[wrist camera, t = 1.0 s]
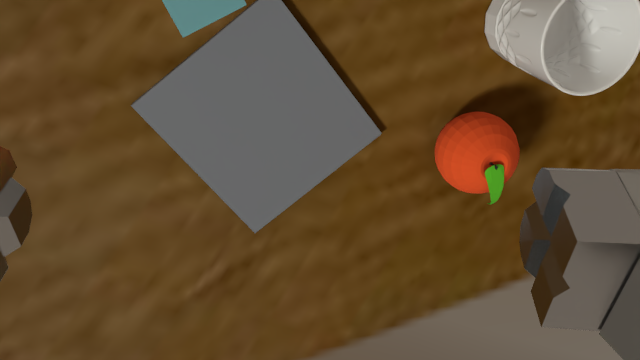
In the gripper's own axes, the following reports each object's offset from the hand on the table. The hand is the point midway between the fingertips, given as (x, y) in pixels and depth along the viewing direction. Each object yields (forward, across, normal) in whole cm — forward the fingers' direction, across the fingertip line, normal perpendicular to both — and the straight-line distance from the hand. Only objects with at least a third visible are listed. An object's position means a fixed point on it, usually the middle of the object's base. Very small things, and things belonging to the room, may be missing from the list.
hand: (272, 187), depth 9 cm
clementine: (+36, -12, +26) cm, 46 cm away
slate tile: (+33, +5, +22) cm, 40 cm away
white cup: (+41, -16, +16) cm, 47 cm away
